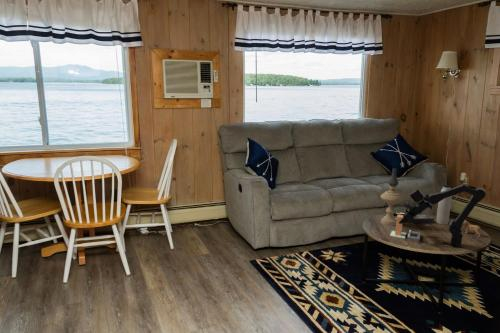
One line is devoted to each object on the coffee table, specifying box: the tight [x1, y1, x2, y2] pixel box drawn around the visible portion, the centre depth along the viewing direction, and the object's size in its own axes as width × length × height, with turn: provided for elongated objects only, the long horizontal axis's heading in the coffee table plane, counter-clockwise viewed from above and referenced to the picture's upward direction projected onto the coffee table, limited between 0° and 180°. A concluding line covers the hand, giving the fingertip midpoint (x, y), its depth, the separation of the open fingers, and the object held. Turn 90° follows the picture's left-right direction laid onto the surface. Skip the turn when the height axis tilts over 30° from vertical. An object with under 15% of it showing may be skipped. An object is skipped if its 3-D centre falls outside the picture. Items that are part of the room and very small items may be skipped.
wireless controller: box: [408, 200, 435, 224], centre depth 278 cm, size 20×14×17 cm
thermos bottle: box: [435, 184, 453, 226], centre depth 274 cm, size 8×8×28 cm
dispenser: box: [406, 229, 421, 243], centre depth 245 cm, size 7×13×3 cm, turn 153°
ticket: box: [394, 214, 404, 236], centre depth 249 cm, size 4×6×12 cm, turn 153°
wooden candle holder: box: [380, 167, 404, 227], centre depth 269 cm, size 15×15×40 cm
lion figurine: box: [461, 219, 484, 238], centre depth 254 cm, size 15×5×9 cm, turn 51°
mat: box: [389, 230, 407, 240], centre depth 250 cm, size 9×10×1 cm
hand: (399, 221), depth 248 cm, fingers open, 9 cm apart
